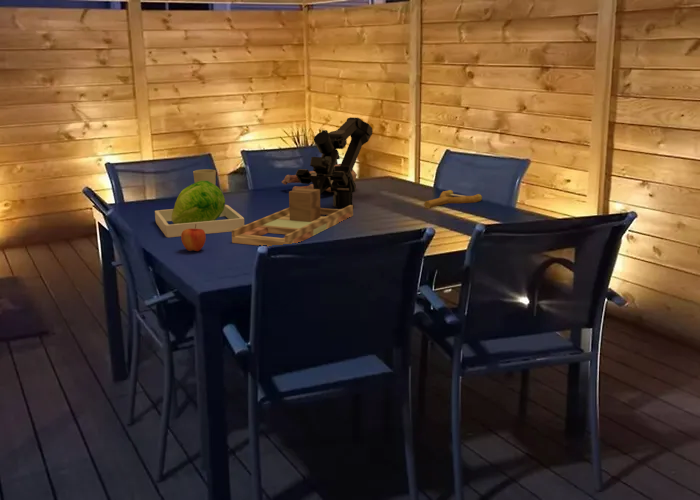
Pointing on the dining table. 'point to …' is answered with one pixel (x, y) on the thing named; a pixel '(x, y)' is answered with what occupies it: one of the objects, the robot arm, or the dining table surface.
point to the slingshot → (452, 199)
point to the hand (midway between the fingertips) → (315, 196)
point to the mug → (205, 175)
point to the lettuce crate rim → (199, 223)
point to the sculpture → (295, 180)
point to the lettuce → (198, 203)
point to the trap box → (288, 227)
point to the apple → (193, 239)
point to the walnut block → (304, 204)
